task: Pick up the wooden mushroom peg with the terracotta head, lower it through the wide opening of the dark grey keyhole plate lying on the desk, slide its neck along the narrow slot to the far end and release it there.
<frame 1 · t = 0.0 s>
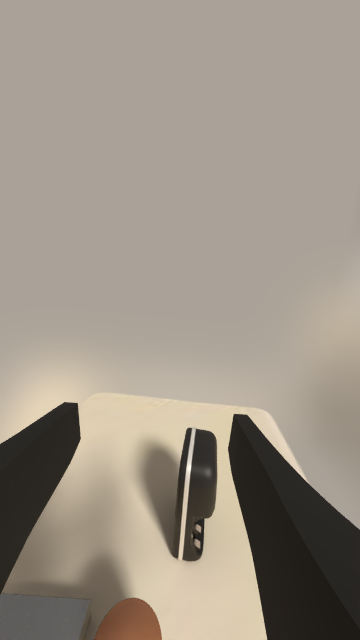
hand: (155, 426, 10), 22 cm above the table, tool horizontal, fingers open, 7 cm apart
battery charger: (192, 529, 25), on the table
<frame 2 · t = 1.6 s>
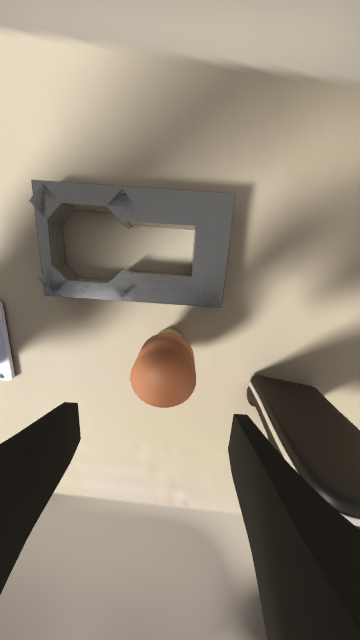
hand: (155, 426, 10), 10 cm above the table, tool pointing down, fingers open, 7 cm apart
battery charger: (276, 394, 21), on the table
peg: (169, 341, 20), on the table
keyhole plate: (138, 249, 18), on the table
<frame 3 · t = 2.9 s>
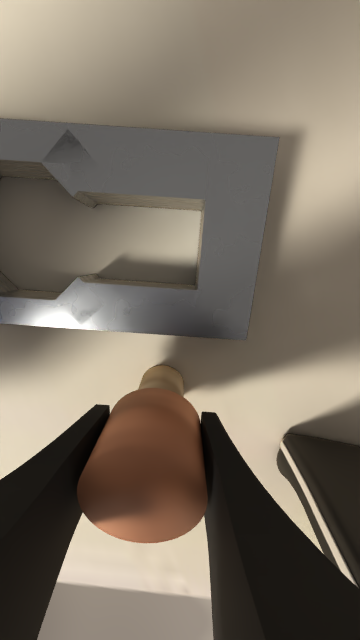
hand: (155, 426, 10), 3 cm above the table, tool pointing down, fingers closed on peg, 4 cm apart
battery charger: (318, 456, 15), on the table
peg: (162, 384, 13), on the table, touching gripper
keyhole plate: (110, 243, 11), on the table
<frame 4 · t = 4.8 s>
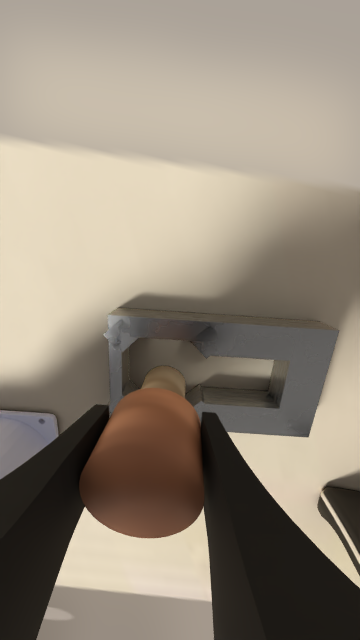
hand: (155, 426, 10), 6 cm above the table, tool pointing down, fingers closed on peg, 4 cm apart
battery charger: (347, 501, 20), on the table
peg: (164, 384, 13), point 3 cm above the table, touching gripper
keyhole plate: (212, 366, 16), on the table
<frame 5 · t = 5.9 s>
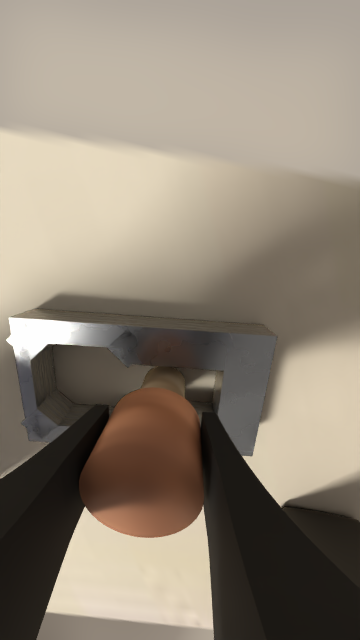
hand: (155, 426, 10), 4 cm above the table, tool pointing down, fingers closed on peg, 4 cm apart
battery charger: (309, 521, 18), on the table
peg: (164, 384, 13), point 1 cm above the table, touching gripper
keyhole plate: (147, 374, 14), on the table
when the fingers open (4 cm above the table, at t = 6.7 s): peg stays where it is, resting in keyhole plate.
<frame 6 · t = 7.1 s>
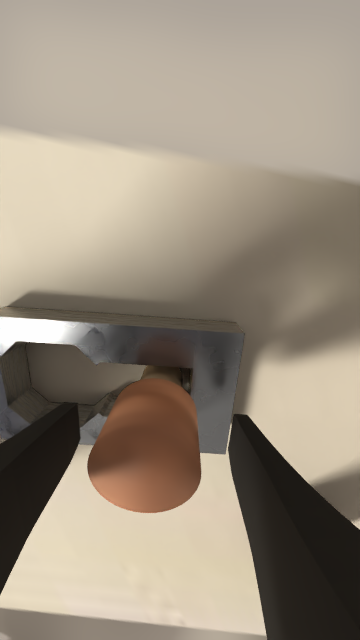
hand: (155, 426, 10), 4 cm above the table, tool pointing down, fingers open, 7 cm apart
peg: (162, 377, 14), resting in keyhole plate
keyhole plate: (121, 372, 14), on the table
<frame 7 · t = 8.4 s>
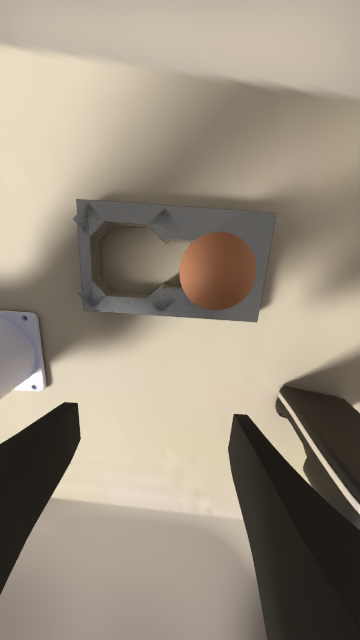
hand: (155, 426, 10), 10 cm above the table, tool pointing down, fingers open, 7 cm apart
battery charger: (303, 404, 22), on the table
peg: (206, 268, 18), resting in keyhole plate
keyhole plate: (174, 264, 18), on the table
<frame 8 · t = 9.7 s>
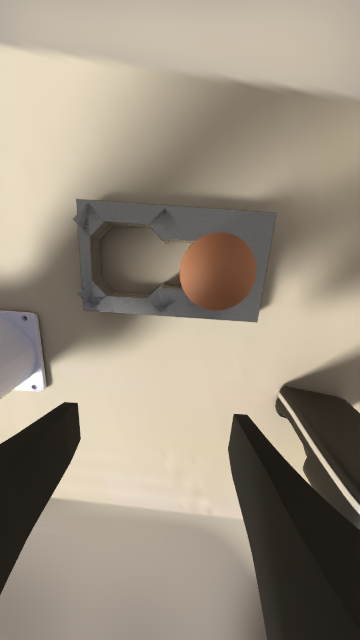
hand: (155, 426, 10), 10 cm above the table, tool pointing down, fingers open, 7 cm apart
battery charger: (303, 404, 22), on the table
peg: (206, 268, 18), resting in keyhole plate
keyhole plate: (174, 264, 18), on the table
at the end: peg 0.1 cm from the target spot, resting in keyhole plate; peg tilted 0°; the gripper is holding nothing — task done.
